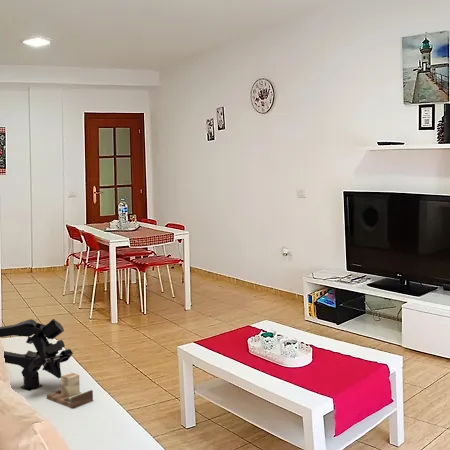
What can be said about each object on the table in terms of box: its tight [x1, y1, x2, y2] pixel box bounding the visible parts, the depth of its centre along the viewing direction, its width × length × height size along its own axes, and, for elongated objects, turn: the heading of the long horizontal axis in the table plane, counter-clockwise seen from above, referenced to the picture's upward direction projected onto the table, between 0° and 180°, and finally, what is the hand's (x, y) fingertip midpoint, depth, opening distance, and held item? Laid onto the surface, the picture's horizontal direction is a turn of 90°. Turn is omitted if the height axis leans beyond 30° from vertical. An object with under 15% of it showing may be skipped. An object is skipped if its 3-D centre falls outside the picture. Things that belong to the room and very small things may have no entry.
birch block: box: [60, 371, 81, 397], centre depth 230 cm, size 5×5×8 cm
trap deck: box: [46, 389, 94, 409], centre depth 228 cm, size 16×10×4 cm, turn 53°
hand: (60, 377), depth 234 cm, fingers closed
